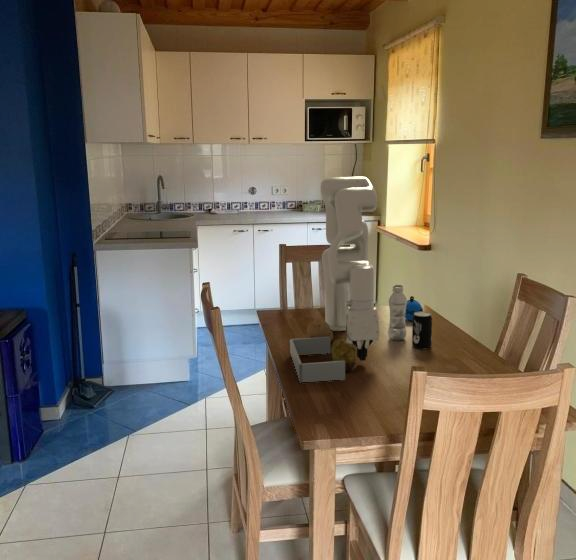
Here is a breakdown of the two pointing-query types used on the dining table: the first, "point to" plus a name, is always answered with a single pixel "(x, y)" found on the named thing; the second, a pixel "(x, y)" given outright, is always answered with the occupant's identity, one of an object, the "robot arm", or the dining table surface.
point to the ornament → (412, 308)
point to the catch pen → (319, 369)
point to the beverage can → (422, 330)
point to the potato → (343, 353)
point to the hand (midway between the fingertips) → (362, 359)
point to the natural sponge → (319, 329)
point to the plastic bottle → (397, 314)
